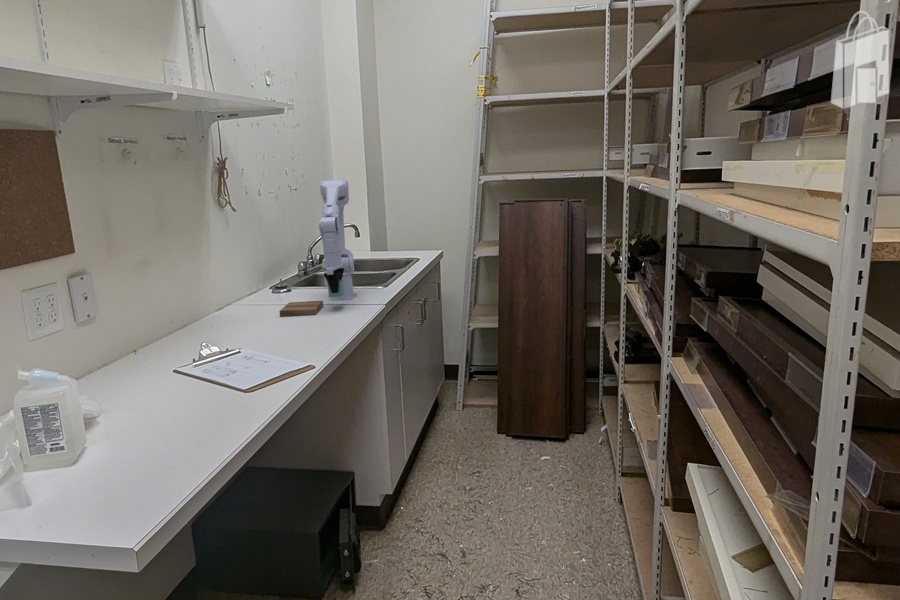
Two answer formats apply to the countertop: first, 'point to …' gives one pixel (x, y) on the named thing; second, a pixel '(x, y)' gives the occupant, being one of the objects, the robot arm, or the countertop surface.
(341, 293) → the teal block
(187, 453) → the countertop surface
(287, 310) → the walnut plinth
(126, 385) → the countertop surface
